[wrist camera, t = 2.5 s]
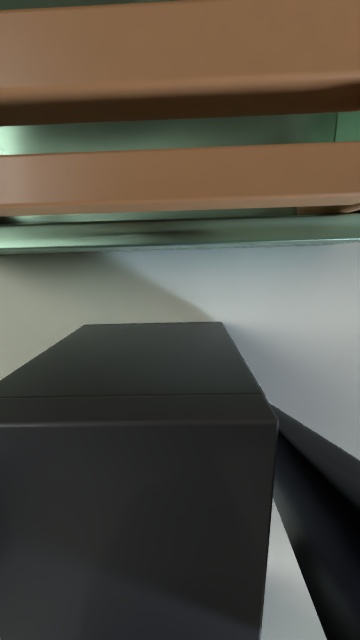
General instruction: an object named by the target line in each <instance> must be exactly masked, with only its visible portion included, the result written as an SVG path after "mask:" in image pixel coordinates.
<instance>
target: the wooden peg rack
mask: <svg viewBox="0 0 360 640" xmlns="http://www.w3.org/2000/svg"><path fill="white" fill-rule="evenodd" d="M354 242H360V0H0V255H3V254H37V253H71V252H105V251H139V250H172V249H206V248H240V247H274V246H308V245H334V244H344V243H354Z"/></svg>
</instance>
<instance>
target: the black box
mask: <svg viewBox="0 0 360 640" xmlns="http://www.w3.org/2000/svg"><path fill="white" fill-rule="evenodd" d="M278 430H279V420H278V418H277V416H276V414H275V413H274V411H273V409H272V408H271V406H270V404H269V402H268V401H267V399H266V397H265V395H264V393H263V391H262V389H261V387H260V386H259V384H258V382H257V381H256V379H255V377H254V376H253V374H252V372H251V371H250V369H249V367H248V366H247V364H246V362H245V361H244V359H243V357H242V355H241V354H240V352H239V350H238V349H237V347H236V345H235V344H234V342H233V340H232V339H231V337H230V335H229V334H228V332H227V330H226V329H225V327H224V325H223V324H222V322H188V323H143V324H99V325H84V326H82V327H80V328H79V329H77V330H76V331H74V332H73V333H71V334H70V335H68V336H67V337H65V338H64V339H62V340H61V341H59V342H58V343H56V344H55V345H53V346H52V347H50V348H49V349H47V350H46V351H44V352H43V353H41V354H40V355H38V356H37V357H35V358H34V359H32V360H31V361H29V362H28V363H26V364H25V365H23V366H22V367H20V368H19V369H17V370H16V371H14V372H12V373H11V374H9V375H8V376H6V377H5V378H3V379H2V380H0V639H1V640H260V639H261V628H262V616H263V605H264V593H265V581H266V570H267V558H268V546H269V535H270V523H271V512H272V500H273V488H274V477H275V465H276V454H277V442H278Z"/></svg>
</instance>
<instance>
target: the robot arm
mask: <svg viewBox="0 0 360 640" xmlns="http://www.w3.org/2000/svg"><path fill="white" fill-rule="evenodd" d="M269 404H270V403H269ZM270 406H271V408H272V409H273V411H274V413H275V414H276V416H277V418H278V420H279V430H278V442H277V454H276V465H275V477H274V488H273V499H274V501H275V504H276V507H277V509H278V512H279V515H280V517H281V520H282V522H283V525H284V528H285V530H286V533H287V536H288V538H289V541H290V544H291V546H292V549H293V551H294V554H295V557H296V559H297V562H298V565H299V567H300V570H301V573H302V575H303V578H304V580H305V583H306V586H307V588H308V591H309V594H310V596H311V599H312V602H313V604H314V607H315V609H316V612H317V615H318V617H319V620H320V623H321V625H322V628H323V631H324V633H325V636H326V638H327V640H360V460H358V459H357V458H355V457H353V456H352V455H350V454H349V453H347V452H346V451H344V450H342V449H341V448H339V447H338V446H336V445H334V444H333V443H331V442H330V441H328V440H327V439H325V438H323V437H322V436H320V435H319V434H317V433H316V432H314V431H312V430H311V429H309V428H308V427H306V426H304V425H303V424H301V423H300V422H298V421H297V420H295V419H293V418H292V417H290V416H289V415H287V414H286V413H284V412H282V411H281V410H279V409H278V408H276V407H274V406H273V405H271V404H270Z"/></svg>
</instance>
